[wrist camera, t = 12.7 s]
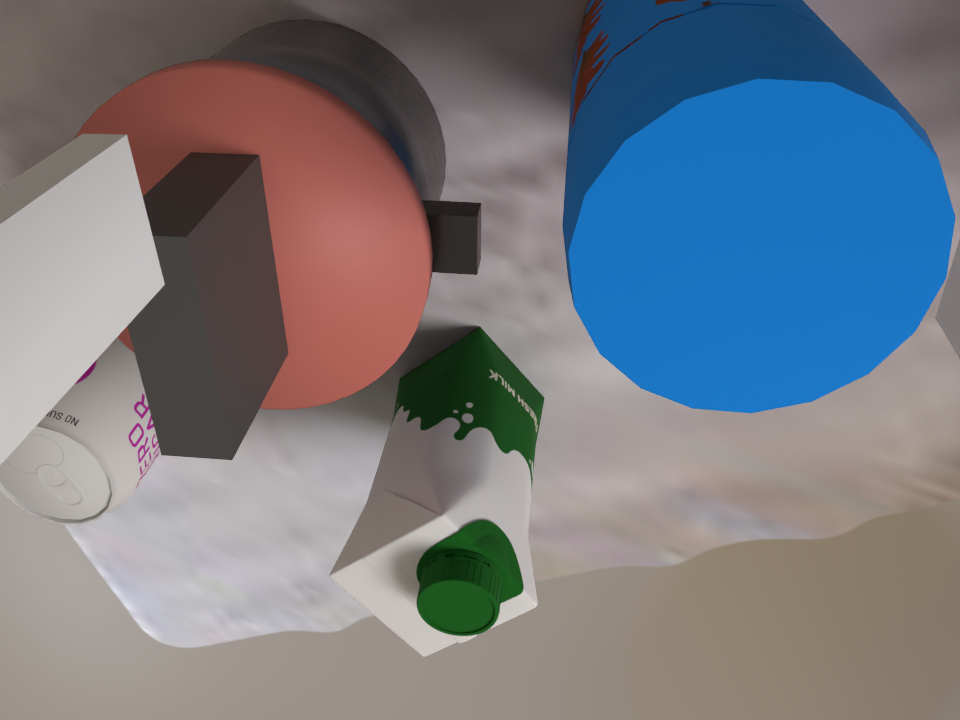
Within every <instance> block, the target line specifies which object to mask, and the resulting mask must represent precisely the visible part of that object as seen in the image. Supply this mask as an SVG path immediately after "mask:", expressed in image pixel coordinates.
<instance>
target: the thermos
mask: <svg viewBox="0 0 960 720" xmlns="http://www.w3.org/2000/svg"><path fill="white" fill-rule="evenodd" d="M954 223H955V215H954V211H953V208H952V204H951V201H950V197H949V194H948V190H947V187H946V183H945V180H944V176H943V173H942V169H941V165H940V162H939V159H938V157H937V155H936V153H935V150H934V148H933V146H932V144H931V142H930V140H929V138H928V136H927V134H926V132H925V131H924V129H923V128H922V127H921V126H920V125H919V124H918V123H917V122H916V120H915V119H914V118H913V117H912V116H911V115H910V114H909V113H908V111H907V110H906V109H905V108H904V107H903V106H902V105H901V103H900V102H899V101H898V100H897V99H896V98H895V97H894V96H893V94H892V93H891V92H890V91H889V90H888V89H887V88H886V87H885V85H884V84H883V83H882V82H881V81H880V80H879V79H878V78H877V77H876V76H875V75H874V74H873V73H872V72H871V71H870V70H869V69H868V68H867V67H866V66H865V65H864V64H863V63H862V61H861V60H860V59H859V58H858V57H857V56H856V55H855V54H854V53H853V52H852V51H851V50H850V49H849V48H848V47H847V46H846V45H845V44H844V43H843V42H842V41H841V40H840V39H839V38H838V37H837V36H836V35H835V34H834V33H833V31H831V29H830V28H829V27H828V26H827V25H826V24H825V23H824V22H823V21H822V20H821V19H820V18H819V17H818V16H817V15H816V14H815V13H814V12H813V11H812V10H811V9H810V8H809V7H808V6H807V5H806V4H805V3H804V1H803V0H590V1H589V3H588V6H587V9H586V13H585V16H584V20H583V24H582V28H581V32H580V35H579V39H578V43H577V47H576V51H575V55H574V62H573V77H572V92H571V107H570V123H569V138H568V155H567V168H566V183H565V198H564V213H563V234H564V243H565V252H566V261H567V270H568V279H569V285H570V289H571V294H572V299H573V303H574V307H575V309H576V311H577V313H578V315H579V317H580V318H581V320H582V322H583V324H584V326H585V327H586V329H587V331H588V333H589V335H590V337H591V338H592V340H593V342H594V344H595V346H596V348H597V349H598V351H599V353H600V354H601V355H602V356H603V357H604V358H606V359H607V360H608V361H609V362H610V363H612V364H613V365H614V366H615V367H616V368H617V369H619V370H620V371H621V372H622V373H623V374H625V375H626V376H627V377H628V378H629V379H631V380H632V381H633V382H634V383H635V384H636V385H638V386H639V387H640V388H642V389H644V390H647V391H649V392H652V393H655V394H657V395H660V396H662V397H665V398H667V399H670V400H673V401H675V402H678V403H680V404H683V405H685V406H688V407H690V408H694V409H707V410H719V411H731V412H744V413H754V412H760V411H765V410H770V409H775V408H781V407H786V406H791V405H796V404H801V403H807V402H812V401H814V400H816V399H818V398H820V397H822V396H824V395H826V394H828V393H830V392H832V391H834V390H836V389H838V388H840V387H842V386H845V385H847V384H849V383H851V382H853V381H855V380H857V379H859V378H861V377H863V376H865V375H867V374H869V373H870V372H871V371H872V370H873V369H874V368H875V367H876V366H878V365H879V364H880V363H881V362H882V361H883V360H884V359H885V358H886V357H888V356H889V355H890V354H891V353H892V352H893V351H894V350H895V349H896V348H898V347H899V346H900V345H901V344H902V343H903V342H904V341H905V340H906V339H908V338H909V337H910V336H911V335H912V334H913V333H914V332H915V331H916V329H917V327H918V326H919V324H920V322H921V321H922V319H923V317H924V315H925V314H926V312H927V310H928V308H929V307H930V305H931V303H932V301H933V300H934V298H935V296H936V295H937V293H938V291H939V289H940V288H941V286H942V284H943V282H944V281H945V279H946V275H947V269H948V262H949V256H950V249H951V243H952V236H953V230H954Z"/></svg>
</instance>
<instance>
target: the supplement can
mask: <svg viewBox="0 0 960 720" xmlns="http://www.w3.org/2000/svg"><path fill="white" fill-rule="evenodd" d="M160 452H161V451H160V447H159V443H158V440H157V436H156V432H155V428H154V424H153V421H152V417H151V413H150V409H149V406H148V402H147V398H146V394H145V390H144V387H143V383H142V379H141V375H140V372H139V368H138V364H137V360H136V356H135V353H134V352H132V351H131V350H130V349H129V348H128V347H126V346H125V345H124V344H123V343H122V342H121V341H120V340H119V339H118V338H116V339H115V340H114V341H113V342H112V343H111V344H110V345H109V346H108V348H107V349H106V350H105V351H104V352H103V353H102V354H101V355H100V356H99V357H98V359H97V360H96V361H95V362H94V363H93V364H92V365H91V366H90V367H89V368H88V370H87V371H86V372H85V373H84V374H83V375H82V376H81V377H80V378H79V379H78V381H77V382H76V383H75V384H74V385H73V386H72V387H71V388H70V389H69V390H68V392H67V393H66V394H65V395H64V396H63V397H62V398H61V399H60V400H59V401H58V403H57V404H56V405H55V406H54V407H53V408H52V409H51V410H50V411H49V412H48V414H47V415H46V416H45V417H44V418H43V419H42V420H41V421H40V422H39V423H38V424H37V426H36V427H35V428H34V429H33V430H32V431H31V432H30V433H29V434H28V435H27V437H26V438H25V439H24V440H23V441H22V442H21V443H20V444H19V445H18V446H17V448H16V449H15V450H14V451H13V452H12V453H11V454H10V455H9V456H8V457H7V459H6V460H5V461H4V462H3V463H2V464H1V465H0V492H1V493H2V494H3V495H4V496H6V497H7V498H8V499H9V500H10V501H12V502H13V503H14V504H15V505H16V506H17V507H19V508H21V509H23V510H24V511H26V512H28V513H30V514H32V515H34V516H36V517H38V518H40V519H44V520H48V521H51V522H55V523H58V524H75V525H81V524H85V523H88V522H91V521H95V520H98V519H99V518H100V517H101V516H102V515H104V514H106V513H108V512H110V511H113V510H115V509H117V508H119V507H120V506H121V505H122V504H124V503H125V502H126V501H127V500H128V499H129V498H130V497H132V495H133V494H134V492H135V491H136V489H137V488H138V486H139V484H140V483H141V481H142V480H143V478H144V477H145V475H146V474H147V472H148V470H149V469H150V467H151V466H152V464H153V463H154V461H155V460H156V458H157V456H158V455H159V453H160Z"/></svg>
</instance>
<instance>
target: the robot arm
mask: <svg viewBox="0 0 960 720" xmlns="http://www.w3.org/2000/svg"><path fill="white" fill-rule="evenodd" d="M164 285H165V283H164V279H163V275H162V271H161V267H160V263H159V259H158V255H157V252H156V248H155V244H154V240H153V236H152V232H151V228H150V224H149V220H148V216H147V212H146V208H145V204H144V200H143V196H142V192H141V189H140V185H139V181H138V177H137V173H136V169H135V165H134V161H133V157H132V153H131V149H130V145H129V141H128V137H127V135H121V134H82V135H80V136H78V137H77V138H75V139H74V140H72V141H71V142H69V143H68V144H66V145H65V146H63V147H61V148H60V149H58V150H57V151H55V152H54V153H52V154H51V155H49V156H48V157H46V158H45V159H43V160H41V161H40V162H38V163H37V164H35V165H34V166H32V167H31V168H29V169H28V170H26V171H25V172H23V173H21V174H20V175H18V176H17V177H15V178H14V179H12V180H11V181H9V182H8V183H6V184H4V185H3V186H1V187H0V465H1V464H2V463H3V462H4V461H5V460H6V459H7V457H8V456H9V455H10V454H11V453H12V452H13V451H14V450H15V449H16V448H17V446H18V445H19V444H20V443H21V442H22V441H23V440H24V439H25V438H26V437H27V435H28V434H29V433H30V432H31V431H32V430H33V429H34V428H35V427H36V426H37V424H38V423H39V422H40V421H41V420H42V419H43V418H44V417H45V416H46V415H47V414H48V412H49V411H50V410H51V409H52V408H53V407H54V406H55V405H56V404H57V403H58V401H59V400H60V399H61V398H62V397H63V396H64V395H65V394H66V393H67V392H68V390H69V389H70V388H71V387H72V386H73V385H74V384H75V383H76V382H77V381H78V379H79V378H80V377H81V376H82V375H83V374H84V373H85V372H86V371H87V370H88V368H89V367H90V366H91V365H92V364H93V363H94V362H95V361H96V360H97V359H98V357H99V356H100V355H101V354H102V353H103V352H104V351H105V350H106V349H107V348H108V346H109V345H110V344H111V343H112V342H113V341H114V340H115V339H116V338H117V337H118V336H119V334H120V333H121V332H122V331H123V330H124V329H125V328H126V327H127V326H128V325H129V323H130V322H131V321H132V320H133V319H134V318H135V317H136V316H137V315H138V314H139V312H140V311H141V310H142V309H143V308H144V307H145V306H146V305H147V304H148V303H149V301H150V300H151V299H152V298H153V297H154V296H155V295H156V294H157V293H158V292H159V290H160V289H161V288H162V287H163V286H164ZM936 320H937V321H938V323H939V325H940V326H941V328H942V330H943V331H944V333H945V335H946V336H947V338H948V340H949V342H950V343H951V345H952V347H953V348H954V350H955V352H956V353H957V355H958V357H959V358H960V240H959V243H958V246H957V250H956V253H955V256H954V259H953V263H952V266H951V269H950V273H949V276H948V279H947V282H946V286H945V289H944V292H943V295H942V299H941V302H940V305H939V309H938V312H937V315H936Z"/></svg>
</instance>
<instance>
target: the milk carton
mask: <svg viewBox="0 0 960 720" xmlns="http://www.w3.org/2000/svg"><path fill="white" fill-rule="evenodd" d="M543 403H544V397H543V396H542V395H541V394H540V393H539V392H538V390H537V389H536V388H535V387H534V386H533V385H532V384H531V383H530V382H529V381H528V379H527V378H526V377H525V376H524V375H523V374H522V373H521V372H520V371H519V369H518V368H517V367H516V366H515V365H514V364H513V363H512V362H511V361H510V360H509V358H508V357H507V356H506V355H505V354H504V353H503V352H502V351H501V350H500V348H499V347H498V346H497V345H496V344H495V343H494V342H493V341H492V340H491V339H490V337H489V336H488V335H487V334H486V333H485V332H484V331H483V330H482V329H481V327H479V328H477V329H476V330H474V331H473V332H471V333H470V334H468V335H467V336H465V337H464V338H462V339H460V340H459V341H457V342H456V343H454V344H453V345H451V346H450V347H448V348H447V349H445V350H443V351H442V352H440V353H439V354H437V355H436V356H434V357H433V358H431V359H430V360H428V361H426V362H425V363H423V364H422V365H420V366H419V367H417V368H416V369H414V370H412V371H411V372H409V373H408V374H406V375H405V376H403V377H402V378H400V382H399V388H398V394H397V400H396V406H395V412H394V417H393V420H392V424H391V427H390V430H389V433H388V437H387V440H386V443H385V446H384V449H383V453H382V456H381V459H380V462H379V465H378V469H377V472H376V475H375V478H374V481H373V485H372V488H371V491H370V494H369V497H368V500H367V503H366V505H365V507H364V509H363V511H362V513H361V515H360V517H359V519H358V521H357V523H356V525H355V527H354V529H353V531H352V533H351V535H350V537H349V539H348V541H347V543H346V545H345V546H344V548H343V550H342V552H341V554H340V556H339V558H338V560H337V562H336V564H335V566H334V567H333V569H332V571H331V573H330V575H329V577H330V578H331V579H332V580H333V581H334V582H336V583H337V584H338V585H339V586H340V587H342V588H343V589H344V590H345V591H346V592H347V593H349V594H350V595H351V596H352V597H353V598H355V599H356V600H357V601H358V602H359V603H360V604H362V605H363V606H364V607H365V608H366V609H368V610H369V611H370V612H371V613H372V614H373V615H375V616H376V617H377V618H378V619H379V620H381V621H382V622H383V623H384V624H385V625H386V626H388V627H389V628H390V629H391V630H392V631H394V632H395V633H396V634H397V635H398V636H400V637H401V638H402V639H403V640H404V641H406V642H407V643H408V644H409V645H410V646H411V647H412V648H414V649H415V650H416V651H417V652H419V653H420V654H421V655H422V656H424V657H425V656H427V655H430V654H432V653H433V652H436V651H438V650H440V649H443V648H445V647H447V646H449V645H451V644H454V643H456V642H458V643H463V642H465V641H467V640H470V639H471V638H474V637H475V636H476V635H478V634H480V633H483V632H484V631H487V630H488V629H490V628H493V627H495V626H497V625H499V624H501V623H503V622H505V621H507V620H509V619H512V618H514V617H516V616H518V615H520V614H522V613H524V612H527V611H528V610H531V609H533V608H535V607H536V606H537V604H538V602H537V595H536V589H535V582H534V575H533V569H532V562H531V555H530V548H529V541H528V529H529V516H530V504H531V492H532V480H533V468H534V456H535V446H536V440H537V435H538V430H539V424H540V419H541V414H542V408H543Z"/></svg>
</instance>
